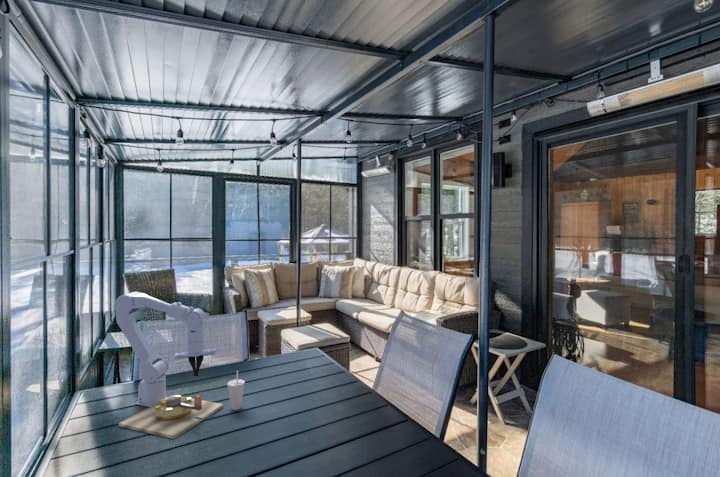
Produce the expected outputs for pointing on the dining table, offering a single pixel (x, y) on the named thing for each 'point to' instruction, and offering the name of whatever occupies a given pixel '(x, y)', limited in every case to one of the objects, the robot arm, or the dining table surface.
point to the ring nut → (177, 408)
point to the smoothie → (236, 392)
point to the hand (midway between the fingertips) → (196, 375)
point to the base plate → (170, 428)
